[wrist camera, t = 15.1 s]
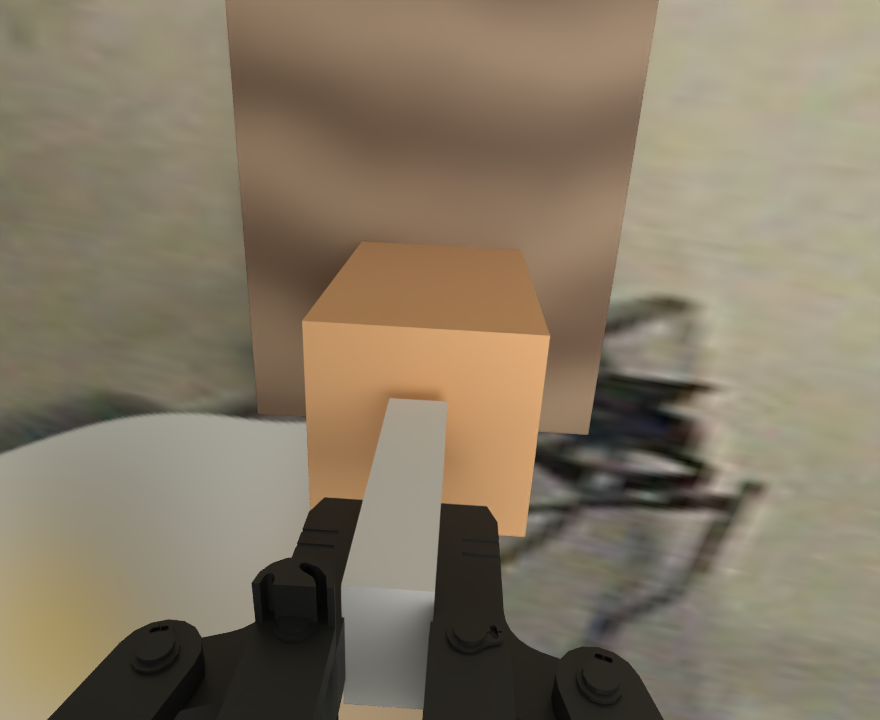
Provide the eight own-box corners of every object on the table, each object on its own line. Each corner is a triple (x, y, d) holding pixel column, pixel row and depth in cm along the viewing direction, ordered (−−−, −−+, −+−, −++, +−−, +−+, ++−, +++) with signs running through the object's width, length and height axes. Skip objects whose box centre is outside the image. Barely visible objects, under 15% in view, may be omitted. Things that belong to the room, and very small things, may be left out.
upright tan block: (361, 241, 25) (302, 320, 16) (521, 250, 25) (550, 335, 16) (362, 385, 27) (310, 522, 18) (506, 394, 27) (524, 536, 18)
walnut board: (215, -346, 19) (195, -380, 18) (699, -328, 19) (717, -362, 17) (267, 398, 29) (258, 413, 28) (582, 418, 29) (588, 434, 28)
